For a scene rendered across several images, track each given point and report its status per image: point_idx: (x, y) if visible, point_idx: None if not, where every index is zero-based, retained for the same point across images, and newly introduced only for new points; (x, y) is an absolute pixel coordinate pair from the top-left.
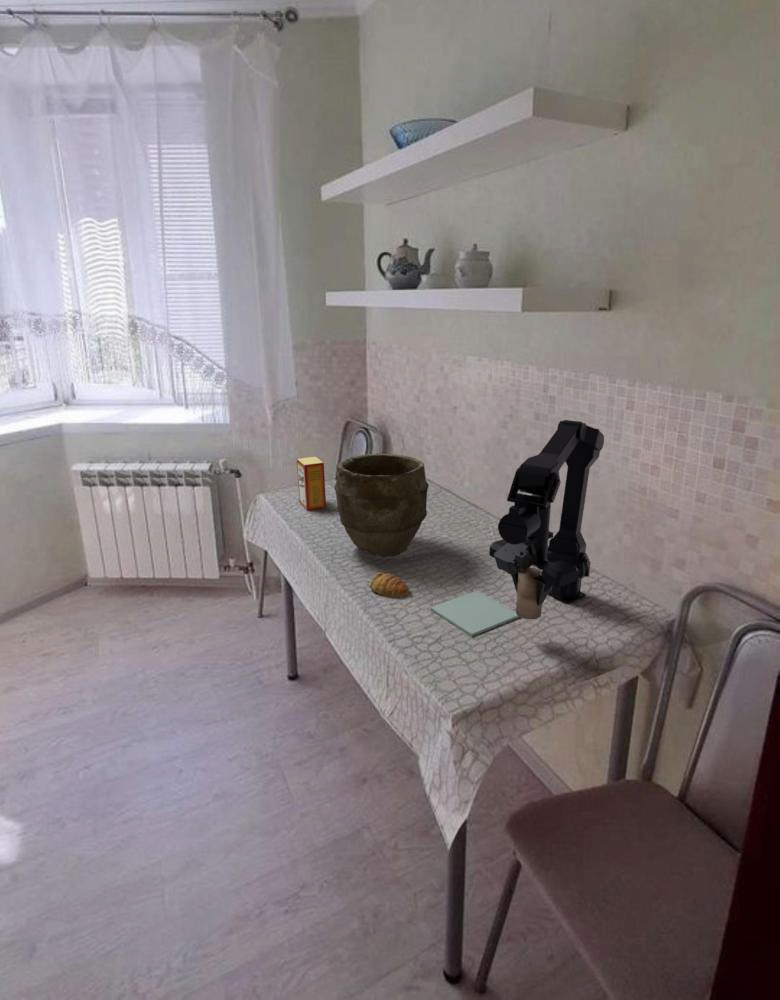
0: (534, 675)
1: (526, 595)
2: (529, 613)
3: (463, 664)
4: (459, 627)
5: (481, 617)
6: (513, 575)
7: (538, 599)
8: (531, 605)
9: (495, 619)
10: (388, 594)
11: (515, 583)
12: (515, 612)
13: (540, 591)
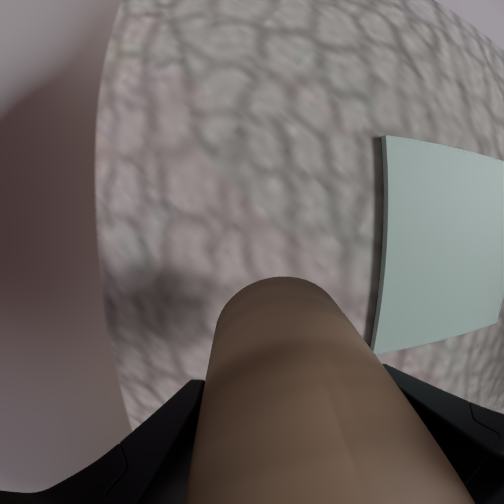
0: (96, 156)
1: (249, 374)
2: (228, 314)
3: (263, 19)
4: (432, 144)
5: (435, 240)
6: (488, 429)
7: (171, 405)
8: (218, 349)
9: (404, 270)
10: None
11: (434, 399)
12: (388, 349)
13: (107, 456)
